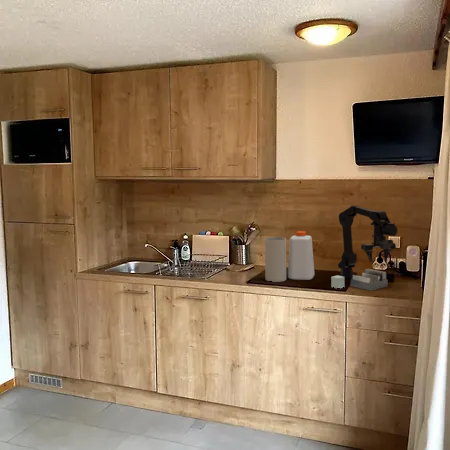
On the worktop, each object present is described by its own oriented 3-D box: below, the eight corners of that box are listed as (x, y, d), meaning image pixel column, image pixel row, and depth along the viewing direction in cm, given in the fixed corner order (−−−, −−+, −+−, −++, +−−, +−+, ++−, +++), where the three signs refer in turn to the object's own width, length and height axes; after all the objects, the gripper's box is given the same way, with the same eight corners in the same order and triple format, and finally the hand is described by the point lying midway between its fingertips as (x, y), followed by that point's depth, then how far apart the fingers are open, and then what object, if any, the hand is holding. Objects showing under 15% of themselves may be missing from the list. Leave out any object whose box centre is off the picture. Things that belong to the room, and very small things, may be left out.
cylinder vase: (275, 276, 308) (274, 236, 305) (290, 279, 299) (290, 238, 296) (261, 280, 300) (260, 238, 297) (276, 283, 291) (275, 240, 288)
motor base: (350, 286, 280) (350, 272, 279) (366, 282, 288) (366, 268, 287) (371, 290, 269) (371, 276, 268) (387, 286, 277) (387, 272, 276)
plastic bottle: (286, 279, 300) (286, 233, 296) (290, 274, 314) (290, 229, 311) (312, 280, 295) (311, 233, 292) (315, 275, 310) (315, 230, 306)
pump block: (331, 287, 279) (331, 276, 278) (337, 285, 282) (337, 275, 281) (338, 288, 275) (338, 278, 274) (344, 287, 278) (344, 276, 277)
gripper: (372, 237, 266) (371, 265, 268) (402, 234, 271) (401, 263, 273) (360, 233, 276) (360, 261, 279) (390, 232, 282) (389, 259, 284)
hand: (378, 261), depth 278 cm, fingers open, 9 cm apart
